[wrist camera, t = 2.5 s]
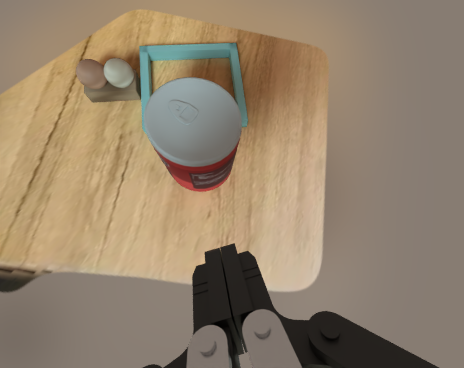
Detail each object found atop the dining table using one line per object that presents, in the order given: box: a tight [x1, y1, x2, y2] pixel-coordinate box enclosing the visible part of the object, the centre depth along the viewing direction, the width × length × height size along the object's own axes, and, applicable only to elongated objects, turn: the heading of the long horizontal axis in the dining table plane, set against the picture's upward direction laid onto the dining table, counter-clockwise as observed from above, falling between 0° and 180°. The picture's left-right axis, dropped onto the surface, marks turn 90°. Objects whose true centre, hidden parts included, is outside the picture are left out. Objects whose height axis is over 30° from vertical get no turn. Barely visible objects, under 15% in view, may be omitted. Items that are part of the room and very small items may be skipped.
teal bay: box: [139, 43, 248, 134], centre depth 30 cm, size 13×12×2 cm
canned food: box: [144, 77, 242, 192], centre depth 23 cm, size 8×8×11 cm
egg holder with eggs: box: [76, 58, 141, 102], centre depth 28 cm, size 6×3×5 cm, turn 97°
